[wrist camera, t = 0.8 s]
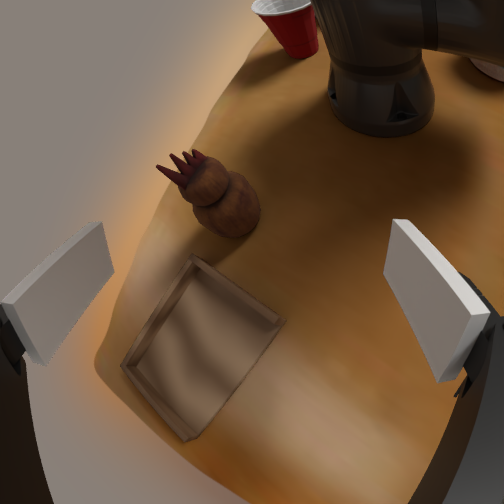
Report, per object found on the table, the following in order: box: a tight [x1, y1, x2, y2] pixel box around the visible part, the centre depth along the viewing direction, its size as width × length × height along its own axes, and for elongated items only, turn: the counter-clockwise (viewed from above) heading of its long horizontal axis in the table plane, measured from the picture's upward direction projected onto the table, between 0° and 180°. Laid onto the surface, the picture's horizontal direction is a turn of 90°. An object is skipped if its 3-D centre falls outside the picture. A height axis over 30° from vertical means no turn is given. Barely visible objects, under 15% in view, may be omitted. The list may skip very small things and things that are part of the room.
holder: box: [120, 253, 286, 442], centre depth 32 cm, size 18×13×2 cm
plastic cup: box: [251, 0, 319, 59], centre depth 39 cm, size 11×11×12 cm
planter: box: [470, 58, 504, 82], centre depth 24 cm, size 11×11×10 cm
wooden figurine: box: [156, 149, 261, 238], centre depth 30 cm, size 7×6×15 cm
